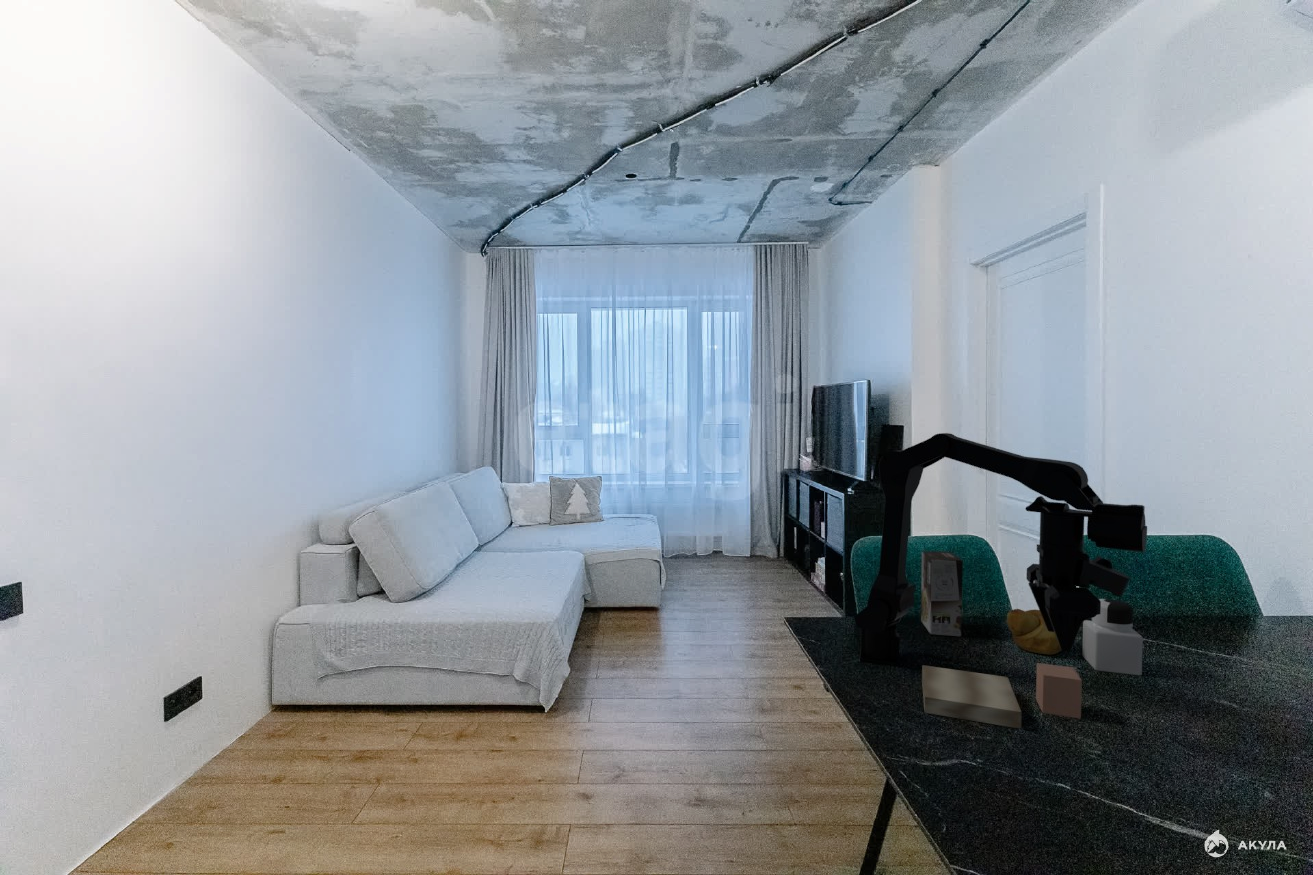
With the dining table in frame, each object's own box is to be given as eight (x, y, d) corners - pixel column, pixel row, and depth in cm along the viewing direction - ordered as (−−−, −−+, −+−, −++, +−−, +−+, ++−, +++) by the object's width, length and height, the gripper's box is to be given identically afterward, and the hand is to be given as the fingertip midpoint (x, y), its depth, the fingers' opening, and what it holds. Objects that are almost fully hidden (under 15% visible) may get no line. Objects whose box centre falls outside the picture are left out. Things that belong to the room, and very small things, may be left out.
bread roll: (1024, 632, 130) (1025, 595, 129) (1078, 645, 122) (1079, 606, 122) (1002, 648, 121) (1003, 608, 121) (1059, 662, 114) (1060, 620, 114)
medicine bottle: (1126, 661, 114) (1127, 597, 114) (1142, 676, 108) (1144, 609, 107) (1081, 656, 117) (1083, 594, 116) (1094, 670, 110) (1096, 605, 110)
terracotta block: (1042, 712, 94) (1043, 674, 94) (1036, 699, 99) (1036, 662, 99) (1080, 718, 93) (1081, 680, 92) (1072, 704, 97) (1073, 667, 97)
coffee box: (962, 637, 127) (964, 560, 126) (929, 634, 128) (930, 558, 128) (950, 622, 136) (952, 550, 135) (920, 620, 137) (921, 549, 137)
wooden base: (924, 712, 94) (924, 696, 94) (922, 679, 106) (922, 665, 106) (1021, 728, 89) (1021, 711, 89) (1006, 691, 101) (1007, 677, 101)
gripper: (1146, 560, 83) (1143, 672, 84) (1104, 535, 101) (1102, 628, 101) (1051, 553, 87) (1048, 660, 88) (1027, 530, 105) (1024, 620, 105)
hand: (1058, 641), depth 96 cm, fingers open, 9 cm apart
